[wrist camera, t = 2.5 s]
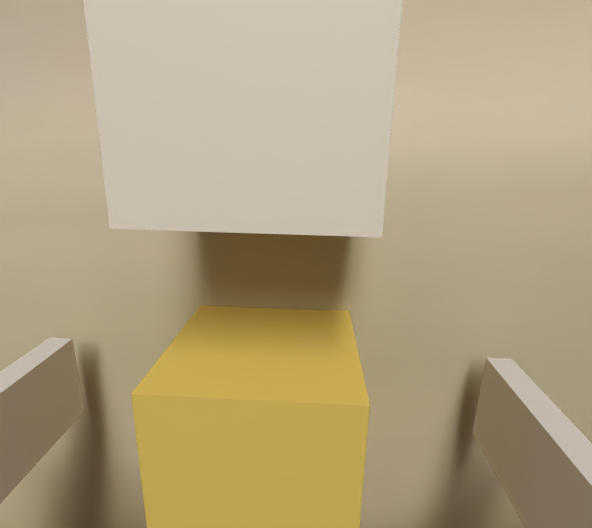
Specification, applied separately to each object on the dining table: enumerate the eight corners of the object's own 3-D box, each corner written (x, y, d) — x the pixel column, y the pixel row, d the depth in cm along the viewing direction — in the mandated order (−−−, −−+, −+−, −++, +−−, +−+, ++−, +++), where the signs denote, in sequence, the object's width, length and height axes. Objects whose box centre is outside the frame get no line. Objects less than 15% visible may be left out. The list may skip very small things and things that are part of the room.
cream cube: (354, 204, 11) (381, 237, 7) (194, 200, 12) (109, 228, 7) (366, 19, 10) (411, -107, 5) (185, 18, 10) (71, -104, 6)
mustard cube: (340, 435, 14) (354, 582, 9) (207, 428, 14) (151, 569, 9) (348, 310, 12) (369, 405, 8) (201, 304, 13) (131, 394, 8)
